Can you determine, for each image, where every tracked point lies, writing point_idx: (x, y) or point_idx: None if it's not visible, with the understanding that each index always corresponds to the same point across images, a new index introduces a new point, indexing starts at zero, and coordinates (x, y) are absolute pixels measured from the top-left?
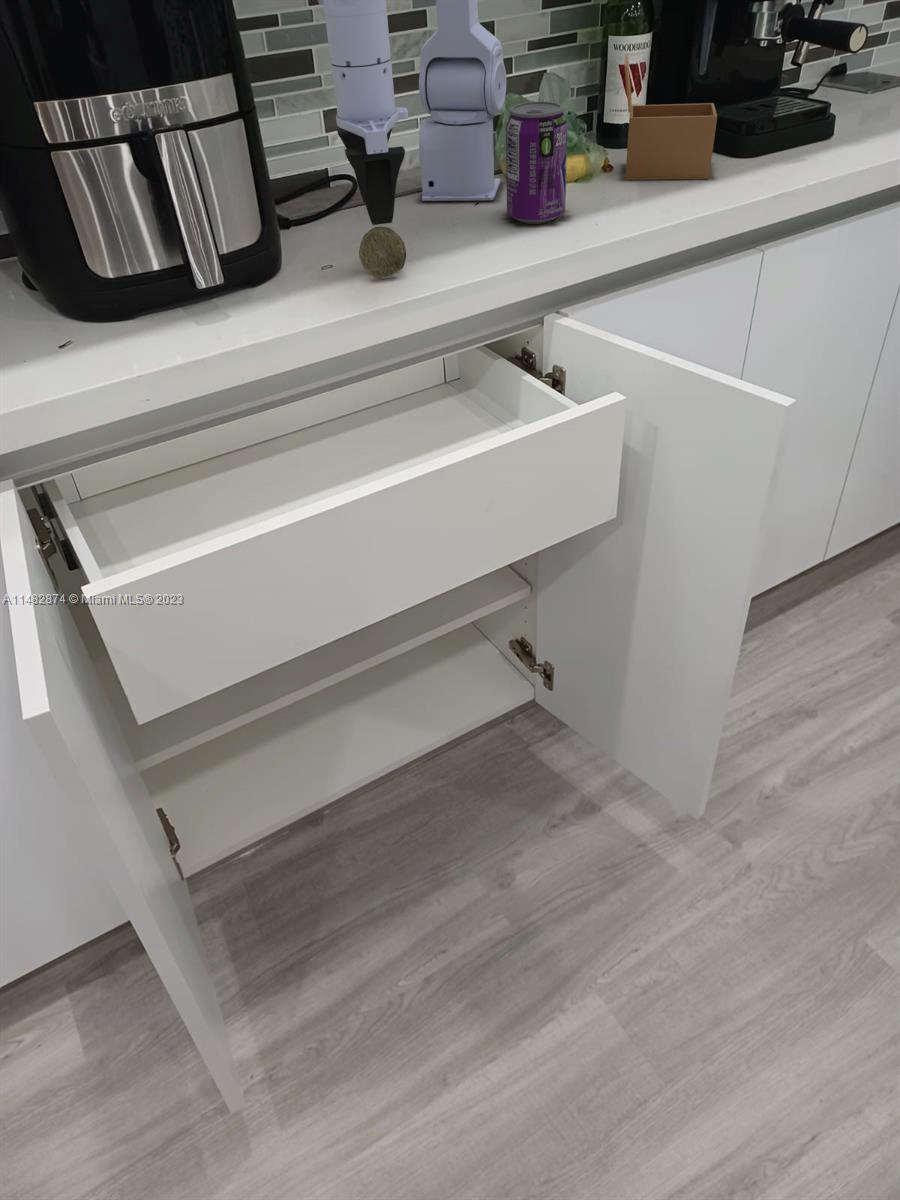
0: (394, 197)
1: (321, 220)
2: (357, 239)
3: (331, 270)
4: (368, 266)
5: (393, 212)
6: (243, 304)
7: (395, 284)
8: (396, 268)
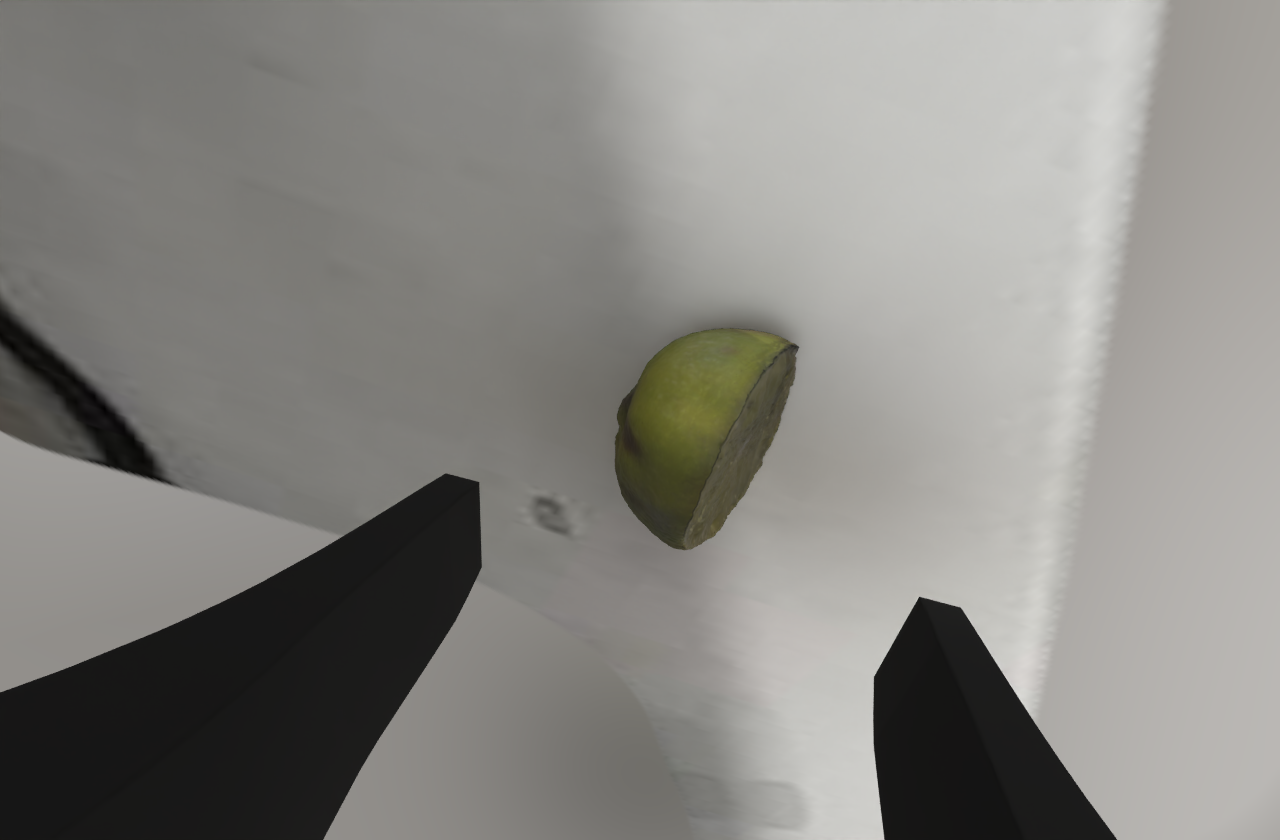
0: (1060, 764)
1: (100, 384)
2: (303, 341)
3: (583, 514)
4: (746, 484)
5: (988, 653)
6: (724, 744)
7: (857, 386)
8: (789, 374)
